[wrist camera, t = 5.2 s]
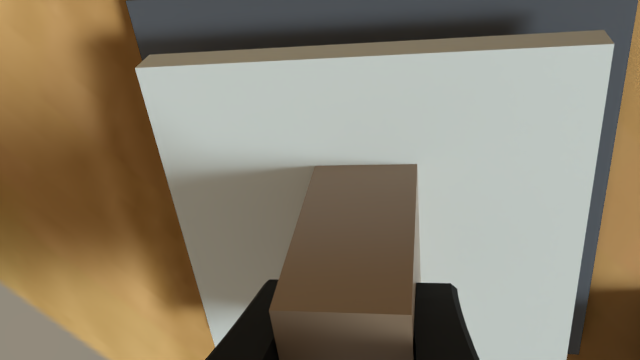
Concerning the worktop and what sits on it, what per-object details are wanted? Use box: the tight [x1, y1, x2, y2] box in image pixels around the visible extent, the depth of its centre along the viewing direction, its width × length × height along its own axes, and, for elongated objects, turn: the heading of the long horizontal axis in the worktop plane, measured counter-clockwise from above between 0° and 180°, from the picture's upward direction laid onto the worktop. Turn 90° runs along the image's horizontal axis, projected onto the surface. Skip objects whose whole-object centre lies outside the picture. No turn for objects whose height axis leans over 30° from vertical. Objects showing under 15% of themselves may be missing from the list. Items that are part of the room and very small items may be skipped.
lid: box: [135, 30, 614, 360], centre depth 12 cm, size 8×8×5 cm
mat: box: [126, 0, 638, 354], centre depth 14 cm, size 10×10×1 cm
